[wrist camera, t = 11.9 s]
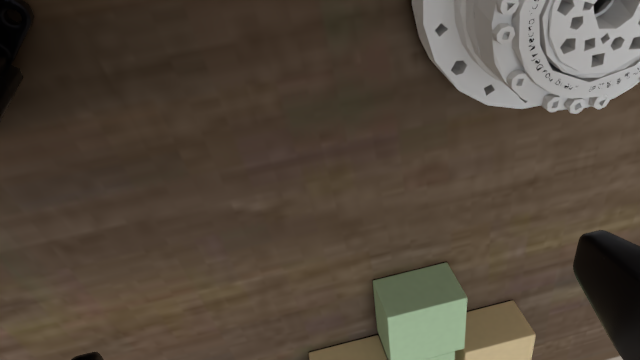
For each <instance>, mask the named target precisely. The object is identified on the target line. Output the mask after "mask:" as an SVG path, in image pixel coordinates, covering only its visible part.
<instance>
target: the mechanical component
mask: <svg viewBox="0 0 640 360" xmlns="http://www.w3.org/2000/svg"><path fill="white" fill-rule="evenodd" d="M412 8H413V13H414V17H415V22H416V26H417V31H418V35H419V38H420V40H421V42H422V44H423V46H424V48H425V50H426V52H427V54H428V57H429V59H430V60H431V61H432V62H433V63H434V64H435V65H436V67H437V68H438V69H439V70H440V71H441V72H442V73H443V75H444V76H445V77H446V78H447V79H448V80H449V81H450V82H451V83H452V84H453V85H454V86H455V87H456V88H457V89H458V90H459V91H460V92H462V93H464V94H466V95H468V96H470V97H472V98H474V99H476V100H478V101H480V102H482V103H484V104H486V105H489V106H498V107H507V108H516V109H525V108H530V107H535V106H540V105H541V106H542V107H544V108H545V109H546V110H548V111H549V112H556V111H557V110H566V109H568V111H569V112H570V113H574V114H577V113H579V112H581V111H582V110H583V108H587V107H590V106H592V107H594V108H596V109H598V110H599V109H601V108H604V107H606V105H607V104H608V102H609V100H610V99H613V98H615V97H617V96H619V95H621V94H622V93H624V92H626V91H627V90H629V89H631V88H632V87H634V86H635V85H636V84H637V83H639V82H640V0H412Z"/></svg>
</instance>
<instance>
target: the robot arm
mask: <svg viewBox="0 0 640 360" xmlns="http://www.w3.org/2000/svg"><path fill="white" fill-rule="evenodd" d="M9 9H13V10H16V11H17V12H19V13H20V15H21V17H22V21H19V22H16V21H13V20H12V19H10V18H9V17H8V15H7V10H9ZM33 19H34V15H33V11H32V9H31V8H30V6H29V5H28V4H27V3H26V2H24V1H23V0H0V122H1V120H2V118H3V116H4V114H5V112H6V110H7V108H8V106H9V104H10V102H11V100H12V98H13V96H14V94H15V92H16V91H17V89H18V87H19V85H20V83H21V81H22V79H23V76H22V73H21V71H20V69H19V68H17V67H15V66H13V65H12V63H13V61H14V59H15V57H16V55H17V53H18V51H19V49H20V47H21V45H22V43H23V41H24V39H25V37H26V35H27V33H28V31H29V29H30V27H31V25H32V23H33ZM573 269H574V273H575V276H576V278H577V280H578V282H579V284H580V285H581V287H582V289H583V291H584V293H585V295H586V296H587V298H588V300H589V302H590V304H591V305H592V307H593V309H594V311H595V313H596V315H597V316H598V318H599V320H600V322H601V324H602V326H603V327H604V329H605V331H606V333H607V335H608V336H609V338H610V340H611V341H612V343H613V345H614V346H615V348H616V349H617V351H618V352H619V354H620V356H621V357H622V358H623V360H640V246H638V245H636V244H633V243H631V242H629V241H627V240H625V239H623V238H620V237H618V236H616V235H614V234H612V233H610V232H607V231H604V230H599V231H594V232H590V233H586V234H583V235H582V236H581V237H580V239H579V242H578V246H577V250H576V255H575V259H574V263H573ZM71 360H103V358H102V356H101V355H100V354H99V353H98V352H91V353H87V354H83V355H79V356H76V357H74V358H73V359H71Z"/></svg>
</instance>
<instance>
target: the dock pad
mask: <svg viewBox="0 0 640 360" xmlns="http://www.w3.org/2000/svg"><path fill="white" fill-rule="evenodd" d="M535 336H536V334H535V333H534V331H533V330H532V328H531V327H530V325H529V323H528V322H527V320H526V319H525V317H524V316H523V314H522V313H521V311H520V310H519V308H518V307H517V305H516V304H515V302H514V301H508V302H504V303H500V304H497V305H493V306H489V307H485V308H481V309H477V310H473V311H469V312H467V313H466V330H465V347H464V349H461V350H457V351H455V360H531V358H532V352H533V347H534V342H535ZM309 359H310V360H387V357H386V355H385V352H384V349H383V347H382V344H381V341H380V338H379V336H378V335H376V336H372V337H368V338H364V339H360V340H356V341H352V342H348V343H345V344H341V345H337V346H333V347H329V348H325V349H321V350H317V351H313V352H309Z"/></svg>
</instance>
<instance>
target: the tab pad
mask: <svg viewBox="0 0 640 360" xmlns="http://www.w3.org/2000/svg"><path fill="white" fill-rule="evenodd" d="M373 291H374V301H375V311H376V322H377V331H378V333H379V336H380V339H381V342H382V344H383V347H384V350H385V352H386V355H387V358H388V360H455V351H457V350H461V349H464V347H465V330H466V313H467V296H466V294H465V293H464V291H463V289H462V287H461V286H460V284H459V282H458V281H457V279H456V277H455V275H454V274H453V272H452V270H451V268H450V267H449V265H448V263H447V262H446V263H442V264H438V265H434V266H430V267H426V268H422V269H418V270H414V271H410V272H406V273H402V274H398V275H394V276H389V277H385V278H381V279H377V280H373Z"/></svg>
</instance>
